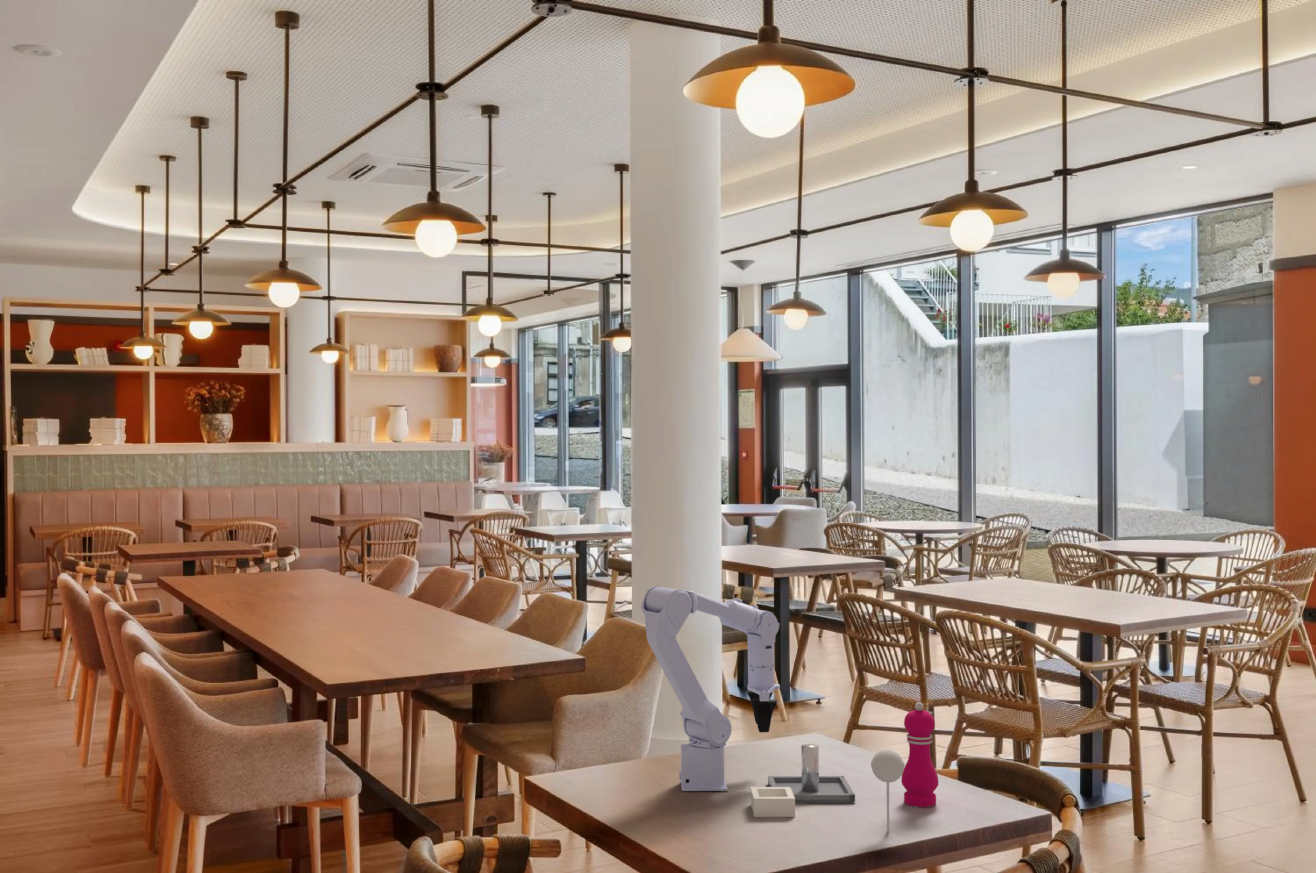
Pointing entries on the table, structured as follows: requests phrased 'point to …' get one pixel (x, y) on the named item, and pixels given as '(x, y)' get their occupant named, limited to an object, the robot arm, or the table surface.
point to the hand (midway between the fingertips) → (762, 727)
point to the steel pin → (810, 768)
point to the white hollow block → (772, 802)
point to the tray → (829, 791)
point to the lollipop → (887, 770)
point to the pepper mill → (919, 759)
